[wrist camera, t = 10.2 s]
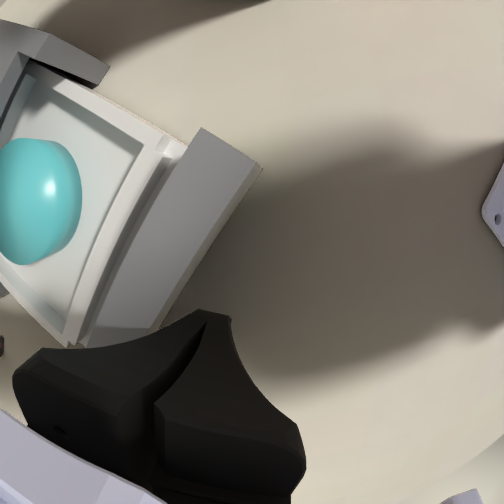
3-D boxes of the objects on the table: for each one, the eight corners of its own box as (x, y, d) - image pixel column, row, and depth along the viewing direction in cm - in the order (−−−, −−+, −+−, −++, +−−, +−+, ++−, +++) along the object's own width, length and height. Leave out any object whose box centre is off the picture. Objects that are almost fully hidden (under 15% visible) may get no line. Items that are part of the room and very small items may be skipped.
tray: (-15, 242, 12) (-57, 257, 9) (55, 53, 9) (7, 33, 6) (129, 377, 13) (96, 424, 9) (262, 169, 10) (256, 162, 7)
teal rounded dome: (102, 179, 10) (74, 180, 8) (56, 277, 11) (32, 290, 9) (36, 121, 9) (10, 117, 8) (1, 213, 11) (-24, 218, 9)
